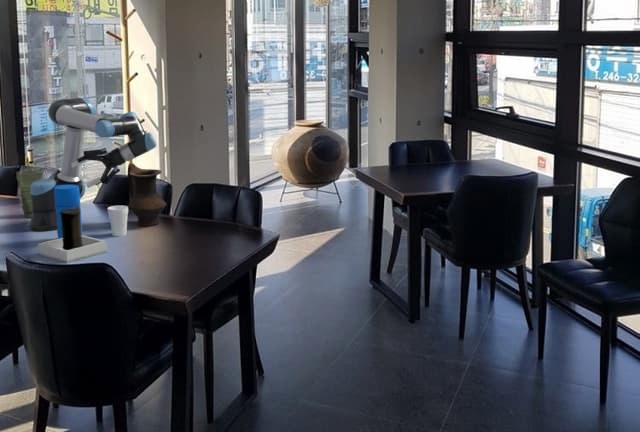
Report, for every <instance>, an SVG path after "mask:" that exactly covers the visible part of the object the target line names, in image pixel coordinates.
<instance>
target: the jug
mask: <svg viewBox="0 0 640 432" xmlns="http://www.w3.org/2000/svg"><path fill="white" fill-rule="evenodd" d="M160 174H162V170H161V169H155V168H154V169H151V168H150V169H149V168H147V169H146V168H141V167H138V166H137V165H136V164H135V163H134V162H133V163H132V162H131V163H128V165H127V180H128V181H127V182H128V189H129V194H130V198H131V200H130V202H129V204H128V205H127V207H128V210H129V211H131V212H132V213H133V214H134V215H135V216H136V217H137V221H136V226H138V227H151V226H153V227H154V226H155V225H158V224H160V220H159V216H160V214H161V213H162V211H163V210H164V209H165V208H166V206H167V202H166V201H165V200H164V199H163V198H162V197H161V196H160V195H159V193H158V191H157V177H158V175H160Z"/></svg>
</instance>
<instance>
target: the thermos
mask: <svg viewBox="0 0 640 432" xmlns="http://www.w3.org/2000/svg"><path fill="white" fill-rule="evenodd" d="M54 196H55V209H56V221H57V229H56V230H57V231H56V232H57V239H60V238H63V233H62V222H61V221H62V218H61V215H60V211H62V210H66V209H79V210H80V211H81V213H80V220H81V221H80V223H81V235H83V222H82V221H83V220H82V209H81V208H82V207H81V199H80V193H79V186H78V185H60V186H56V187H54Z"/></svg>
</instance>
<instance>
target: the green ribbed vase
mask: <svg viewBox="0 0 640 432" xmlns="http://www.w3.org/2000/svg"><path fill="white" fill-rule="evenodd" d="M44 170H45V168H42V167H41V168H38V169H34V170H33V169H31V168H29V169H28V170H26V169H25V170H18V171H16V172H15V173H16V176H15V177H16V180H17V183H18V185H19V189H20V197H21V203H22V205H21V208H22V212H23V216H24V218H31V217H32V202H31V194H30V187H31V184H32V183H33V182H35V181H38V180H41V179H43V178H42V176H43V175H44Z"/></svg>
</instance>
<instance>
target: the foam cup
mask: <svg viewBox="0 0 640 432" xmlns="http://www.w3.org/2000/svg"><path fill="white" fill-rule="evenodd" d="M107 214H108V218H109V225H110V228H111V230H110V231H111V233H112V236H114V237H123V236H126V235H127V229H128V214H129V208H128V205H111V206H109V207H107Z"/></svg>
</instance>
